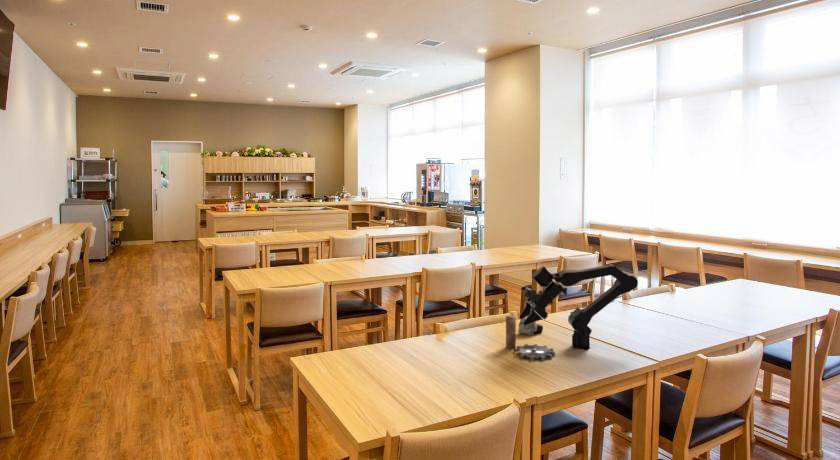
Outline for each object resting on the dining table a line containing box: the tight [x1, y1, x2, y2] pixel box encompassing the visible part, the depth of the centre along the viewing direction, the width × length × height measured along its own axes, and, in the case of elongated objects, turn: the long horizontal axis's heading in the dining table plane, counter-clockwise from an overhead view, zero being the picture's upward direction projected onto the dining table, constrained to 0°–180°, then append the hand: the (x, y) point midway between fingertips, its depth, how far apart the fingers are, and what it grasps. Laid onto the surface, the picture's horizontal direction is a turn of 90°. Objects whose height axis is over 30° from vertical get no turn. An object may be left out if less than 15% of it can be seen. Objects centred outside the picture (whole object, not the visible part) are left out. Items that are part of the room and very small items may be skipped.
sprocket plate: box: [513, 343, 556, 362], centre depth 211 cm, size 16×16×2 cm
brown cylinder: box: [505, 315, 517, 350], centre depth 219 cm, size 4×4×13 cm
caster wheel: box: [517, 317, 544, 336], centre depth 240 cm, size 7×11×10 cm
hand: (521, 321), depth 219 cm, fingers open, 9 cm apart
